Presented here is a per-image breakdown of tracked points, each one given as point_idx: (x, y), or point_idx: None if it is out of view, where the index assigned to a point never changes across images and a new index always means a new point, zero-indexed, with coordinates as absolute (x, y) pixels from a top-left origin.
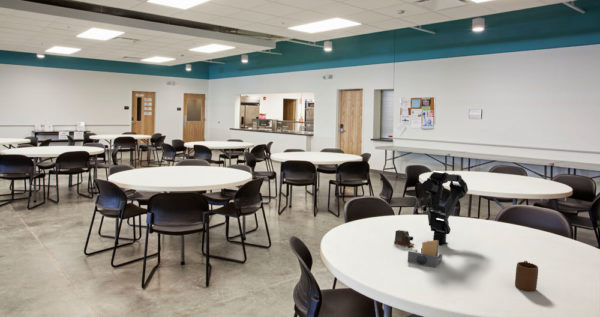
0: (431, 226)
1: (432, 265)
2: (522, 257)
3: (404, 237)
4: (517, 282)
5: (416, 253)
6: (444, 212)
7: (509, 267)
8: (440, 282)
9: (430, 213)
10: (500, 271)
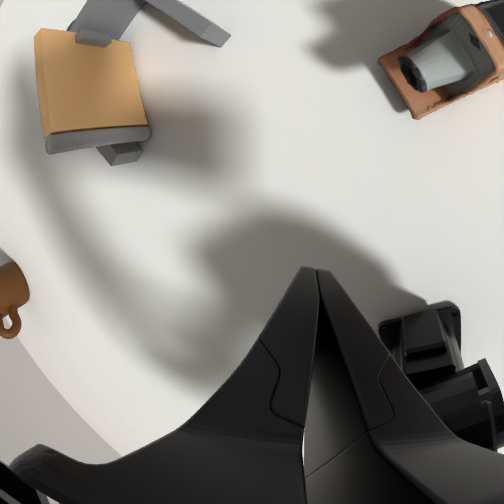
0: (470, 375)
1: None
2: None
3: (436, 20)
4: (3, 266)
5: (86, 6)
6: (4, 463)
7: (107, 366)
8: (19, 77)
9: (154, 449)
10: (76, 315)
